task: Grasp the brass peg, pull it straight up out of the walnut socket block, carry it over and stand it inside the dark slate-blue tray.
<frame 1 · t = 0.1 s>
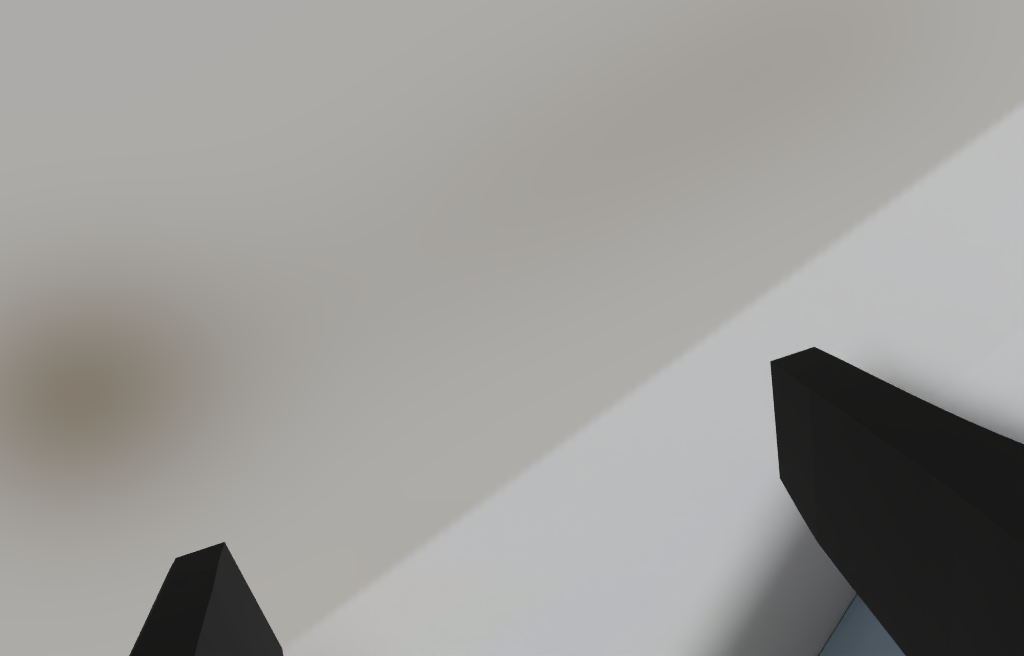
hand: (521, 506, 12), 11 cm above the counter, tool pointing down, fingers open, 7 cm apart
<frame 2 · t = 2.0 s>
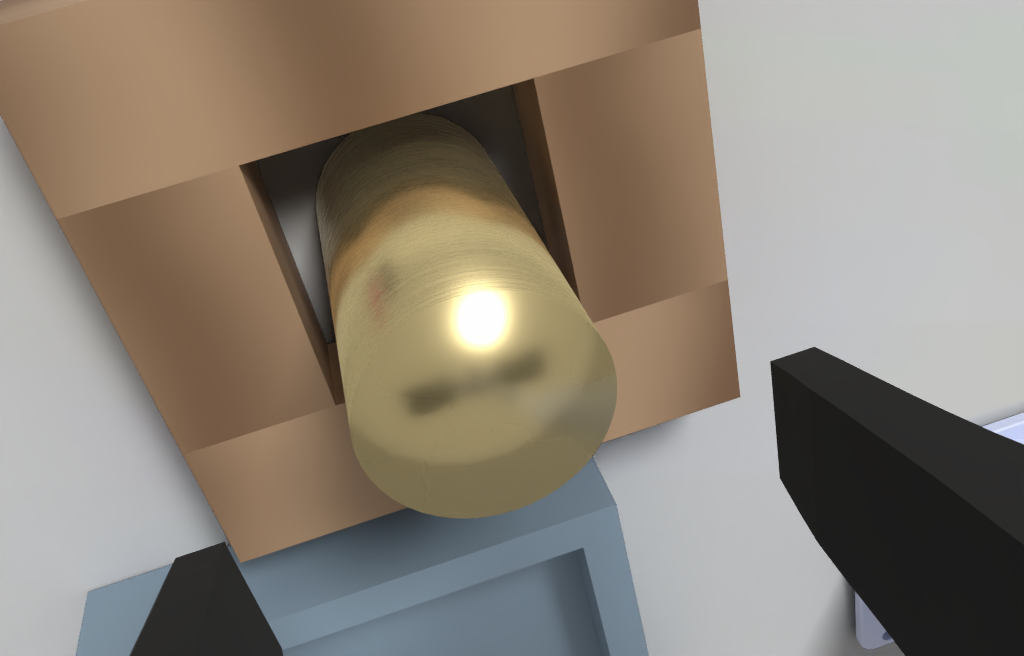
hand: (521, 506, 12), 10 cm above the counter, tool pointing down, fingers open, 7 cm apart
brass peg: (441, 287, 17), in the walnut socket block
walnut socket block: (409, 203, 21), on the counter
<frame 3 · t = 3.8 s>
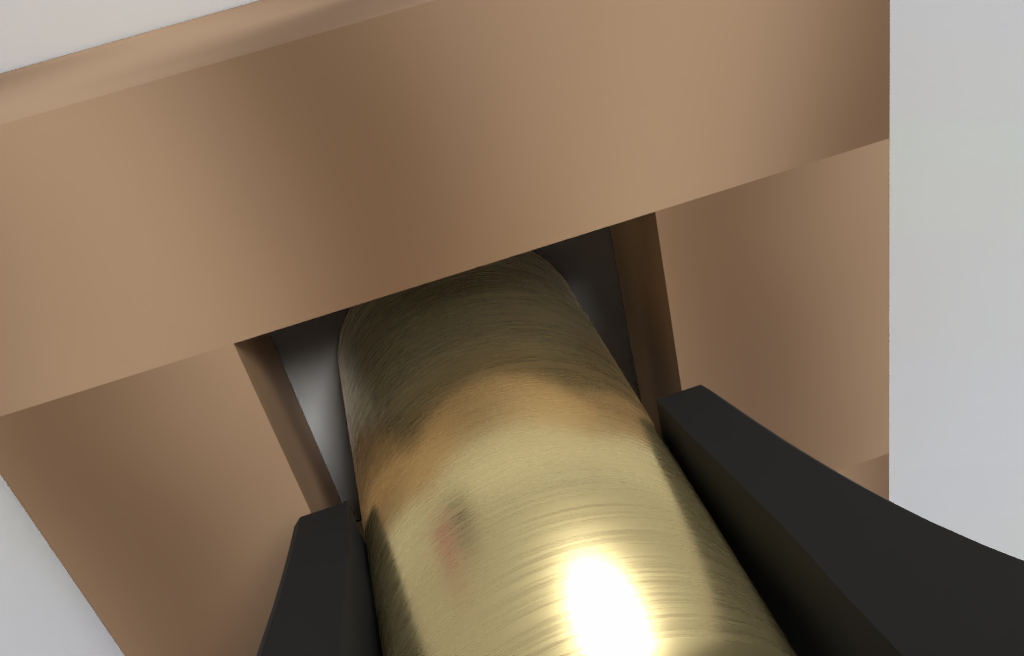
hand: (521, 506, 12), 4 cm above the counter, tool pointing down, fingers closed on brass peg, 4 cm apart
brass peg: (522, 510, 12), in the walnut socket block, touching gripper
walnut socket block: (463, 350, 15), on the counter
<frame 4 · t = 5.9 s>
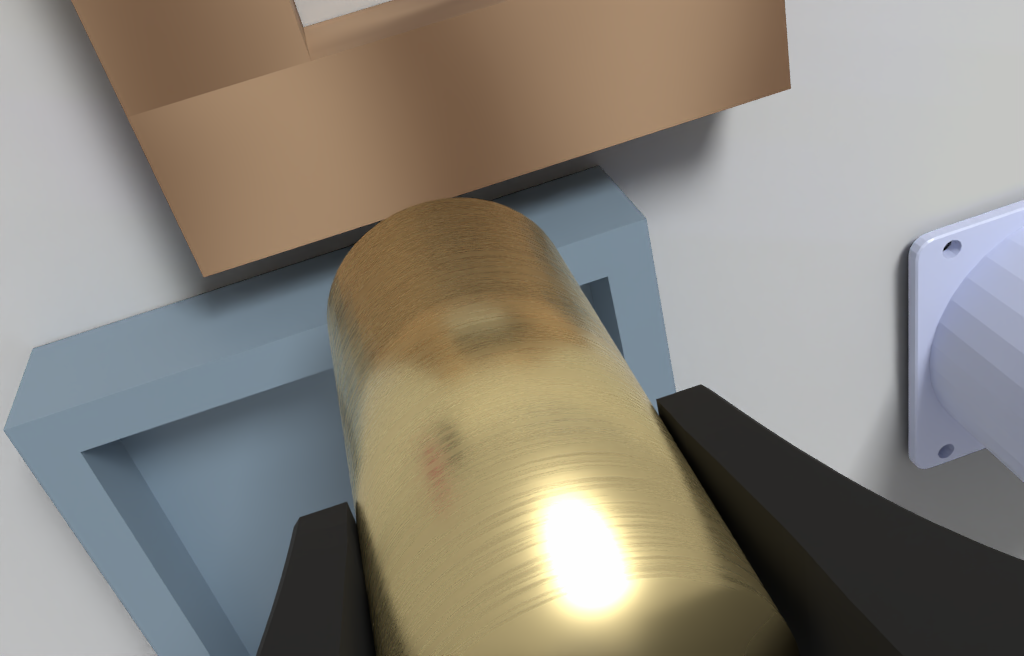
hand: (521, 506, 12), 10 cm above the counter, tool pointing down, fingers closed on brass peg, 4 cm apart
brass peg: (507, 465, 12), point 10 cm above the counter, touching gripper
slate-blue tray: (407, 469, 25), on the counter
when the fingers open (6 cm above the counter, at t = 7.9 s): brass peg stays where it is, resting on slate-blue tray.
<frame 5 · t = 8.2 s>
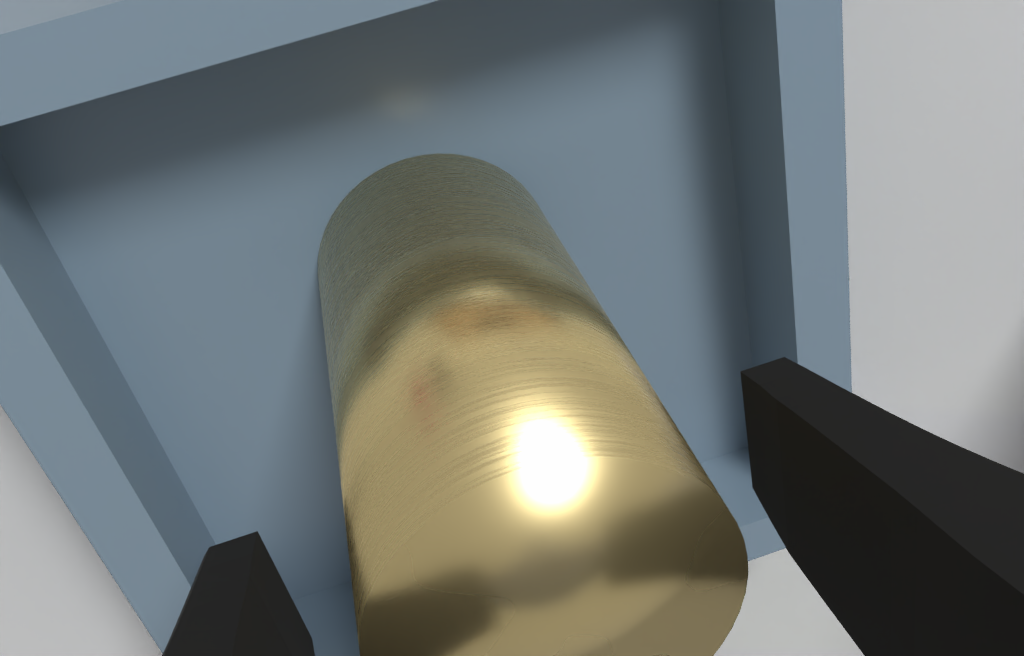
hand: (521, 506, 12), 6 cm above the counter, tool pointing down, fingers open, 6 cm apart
brass peg: (482, 396, 13), in the slate-blue tray, point 5 cm above the counter
slate-blue tray: (437, 279, 18), on the counter
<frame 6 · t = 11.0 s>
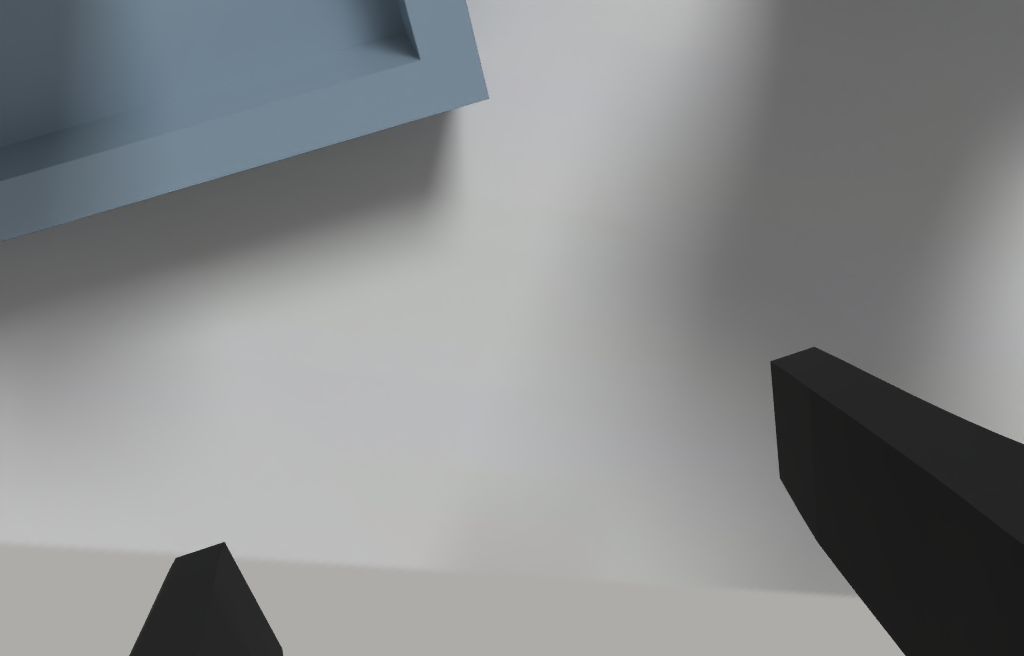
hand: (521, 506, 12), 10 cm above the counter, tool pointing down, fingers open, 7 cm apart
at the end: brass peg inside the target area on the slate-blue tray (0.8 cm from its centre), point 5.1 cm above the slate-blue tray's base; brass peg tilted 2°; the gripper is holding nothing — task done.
